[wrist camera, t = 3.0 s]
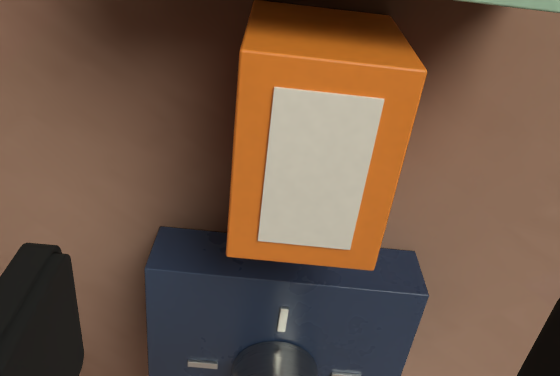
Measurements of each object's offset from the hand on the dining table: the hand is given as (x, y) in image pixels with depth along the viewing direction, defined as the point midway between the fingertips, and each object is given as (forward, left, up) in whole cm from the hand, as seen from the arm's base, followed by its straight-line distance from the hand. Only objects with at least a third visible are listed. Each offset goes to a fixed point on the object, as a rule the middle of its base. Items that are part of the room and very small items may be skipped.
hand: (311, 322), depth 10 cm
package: (0, 0, -12) cm, 12 cm away
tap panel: (0, +11, -12) cm, 16 cm away
